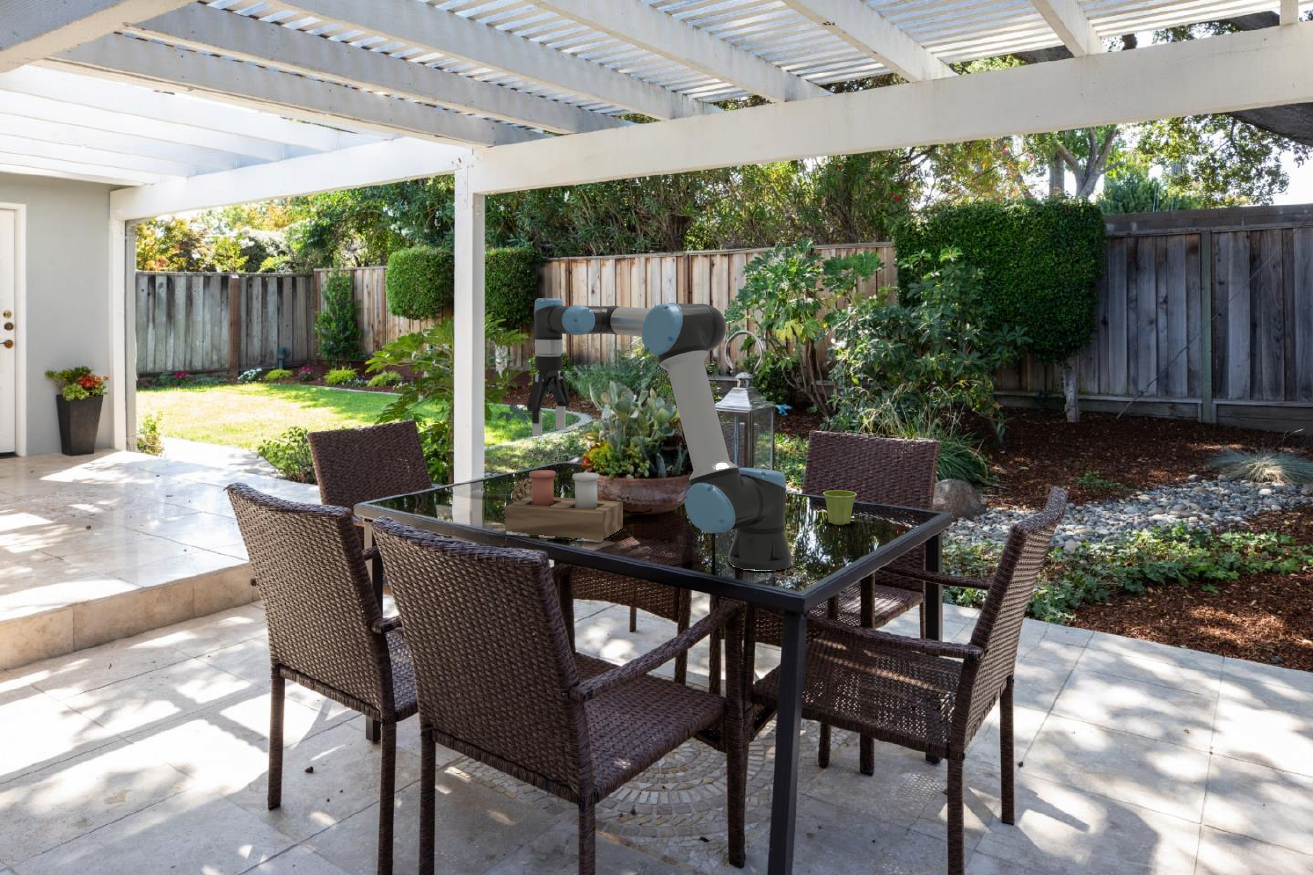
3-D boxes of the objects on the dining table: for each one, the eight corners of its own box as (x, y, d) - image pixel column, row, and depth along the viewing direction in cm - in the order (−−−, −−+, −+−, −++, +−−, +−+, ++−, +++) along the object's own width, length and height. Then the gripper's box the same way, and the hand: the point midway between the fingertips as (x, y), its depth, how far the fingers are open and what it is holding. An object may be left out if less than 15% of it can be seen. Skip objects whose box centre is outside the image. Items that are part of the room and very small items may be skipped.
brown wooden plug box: (601, 543, 242) (600, 513, 241) (505, 535, 251) (504, 506, 250) (622, 529, 257) (622, 501, 256) (532, 522, 266) (531, 495, 265)
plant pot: (856, 527, 260) (856, 497, 259) (822, 525, 262) (822, 495, 261) (855, 520, 269) (856, 490, 268) (822, 518, 271) (823, 489, 270)
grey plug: (593, 518, 247) (593, 477, 245) (568, 516, 249) (568, 476, 248) (603, 512, 253) (603, 473, 252) (579, 511, 256) (579, 472, 254)
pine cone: (512, 506, 289) (511, 475, 287) (543, 505, 290) (542, 474, 289) (510, 522, 267) (509, 488, 266) (543, 521, 268) (543, 487, 267)
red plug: (549, 514, 251) (548, 475, 249) (525, 513, 253) (524, 473, 252) (560, 509, 258) (559, 470, 256) (537, 508, 260) (536, 469, 258)
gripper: (557, 352, 264) (558, 426, 267) (513, 357, 242) (514, 437, 245) (581, 353, 262) (581, 427, 265) (538, 357, 239) (539, 438, 242)
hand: (549, 432), depth 255 cm, fingers open, 13 cm apart
